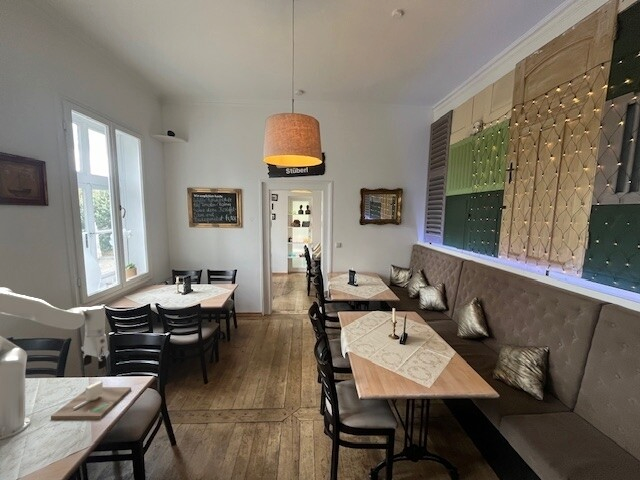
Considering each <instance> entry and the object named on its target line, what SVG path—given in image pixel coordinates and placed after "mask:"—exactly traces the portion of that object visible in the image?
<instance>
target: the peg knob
mask: <svg viewBox="0 0 640 480" xmlns="http://www.w3.org/2000/svg"><path fill="white" fill-rule="evenodd" d="M102 387H103V381H100V380H98V381H96V382H94V383H91V384H90V385H88V386H86V387H85V390H86V400H87V401H85V402H83V403H81V404H79V405H77V406H75V407H74V409H76V408H78V407H80V406H81V405H83V404H85V403H87V402H89V401H93V400H96V399H98V396H99V395H101V394H102Z"/></svg>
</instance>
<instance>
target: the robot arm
mask: <svg viewBox="0 0 640 480" xmlns="http://www.w3.org/2000/svg"><path fill="white" fill-rule="evenodd" d="M0 314H1V315H6V316H13V317H17V318H23V319H28V320H31V321H33V322H36V323H39V324H42V325H45V326H51V327H54V328H60V329H63V330H64V329H66V330H76V329H79V328H81V327H82V326H83V325H84V339H83V340H84V341H83V346H80V349H81V353H82V357H83V366H85V367H86V366H87V365H90V364H92V360H93V359H92V357H94V358H95V357H97V358H98V366H97V367H98V368H97V369H98V370H101V369H104V368H105V367H107V359H108V357H109V355H110V351H109V350H108V339H107V335H106V308H105V306H103V305H93V306H90V307H89V306H88V307H86V306H85V307H71V308H69V309H67V310H65V309H61V308H58V307H55V306H53V305H51V304H50V303H48V302H47V301H46V300H43V299H40V298H37V297H32V296H27V295H23V294H19V293H14V291H13V290H12V289H10V288H8V287H2V286H0ZM101 356H102V357H101ZM27 360H28V354H27V352H26V351H25V350H24V349H23V348H21V347H20V346H18V345H16V344H14V343H13V342H12V341H10V340H9V339H7V338H5V337H3V336H2V335H0V441H2V440H4V439H8V438H10V437H11V438H12V437H14V436H15V435H17V434H20V433H21V432H22V431H24V430H25V429H27V428H28V427H29V426H30V425H31V418H30V417H28V416H26V367H27V366H26V365H27Z"/></svg>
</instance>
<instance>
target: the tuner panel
mask: <svg viewBox="0 0 640 480" xmlns="http://www.w3.org/2000/svg"><path fill="white" fill-rule="evenodd" d="M131 391H132V387H131V386H130V387H129V386H128V387H127V386H124V387H122V386H121V387H120V386H119V387H117V386H116V387H115V386H112V387H110V386H102V394H101V395H99V396H98V399H96V400H93V401H89V402H87V403H85V404H83V405H81V406H80V407H78V408H76V409H74V407H75V406H77V405H79V404H81V403H83V402H85V401H87V400H86V389H85V390H84V391H83V392H81V393H80V394H79V395H77V396H75V397H74V398H73V399H72V400H70V401H69V402H68V403H66V404H65V405H64V406H62V407H61V408H60V409H58V410H57V411H55V412H54V413H52V415H50V419H51V420H101V419H102V418H103V417H104V416H105V415H106V414H107V413H108V412H110V410H113V408H114V407H115V406H116V405H117V404H118V403H119V402H120V401H121V400H122V399H124V397H126V396H127V395H128V394H129V393H130V392H131Z"/></svg>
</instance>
